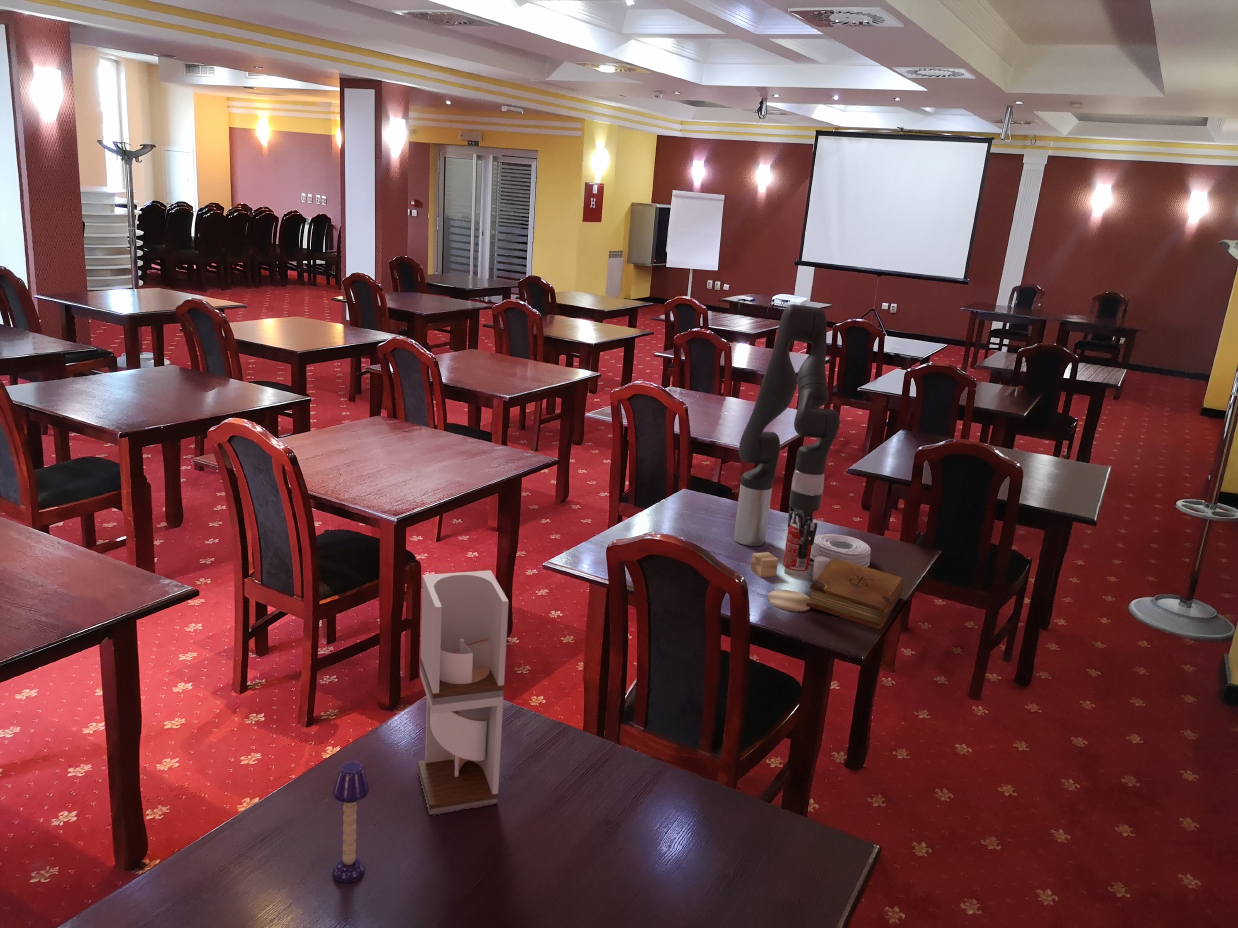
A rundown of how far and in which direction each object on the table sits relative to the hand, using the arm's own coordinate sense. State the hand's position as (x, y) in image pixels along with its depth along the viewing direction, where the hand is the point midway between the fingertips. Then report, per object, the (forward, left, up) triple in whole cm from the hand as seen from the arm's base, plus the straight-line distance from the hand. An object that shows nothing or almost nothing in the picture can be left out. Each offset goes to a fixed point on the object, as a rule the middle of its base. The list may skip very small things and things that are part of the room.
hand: (797, 552), depth 221 cm
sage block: (-20, +7, -13) cm, 25 cm away
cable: (-28, +24, -14) cm, 40 cm away
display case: (+72, -81, -13) cm, 109 cm away
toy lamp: (+90, -95, -13) cm, 131 cm away
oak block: (-18, -2, -13) cm, 22 cm away
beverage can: (0, 0, -5) cm, 5 cm away
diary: (0, +17, -13) cm, 21 cm away
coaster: (0, 0, -13) cm, 13 cm away
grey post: (-14, +13, -13) cm, 23 cm away
